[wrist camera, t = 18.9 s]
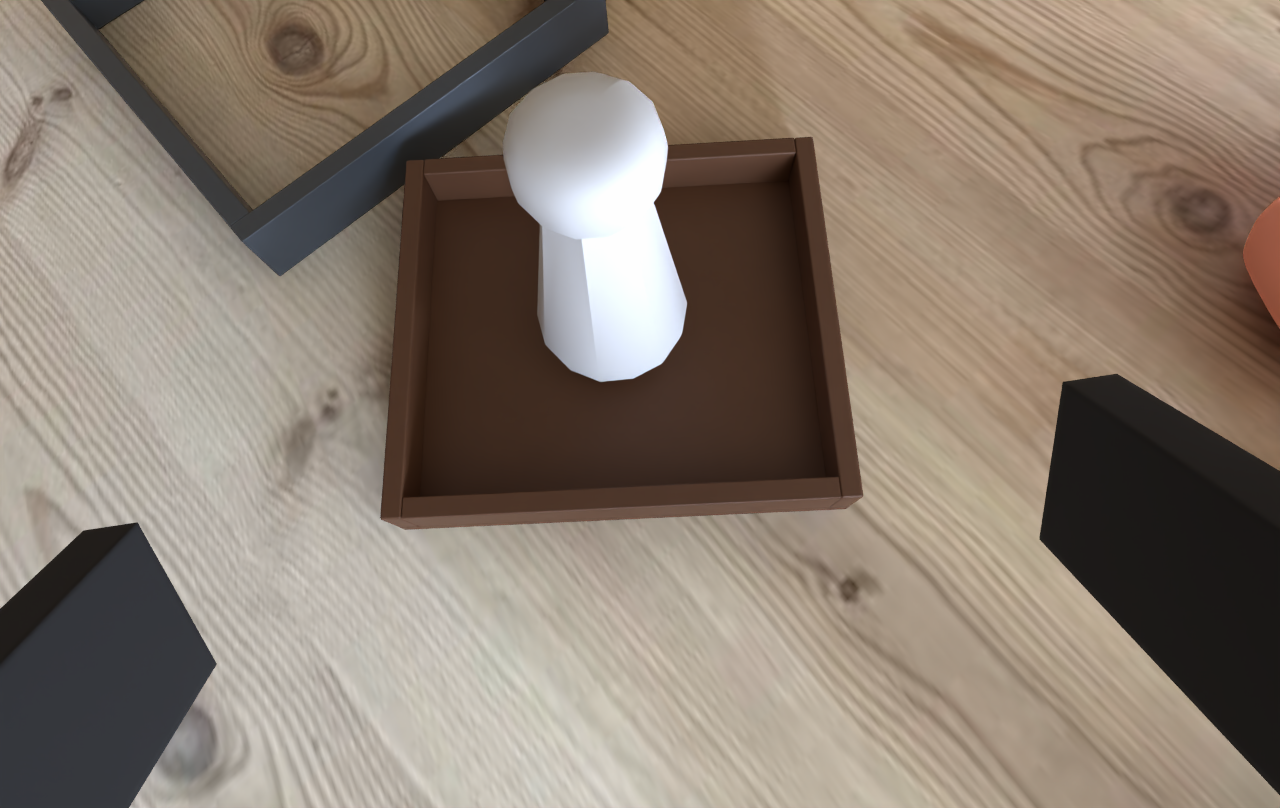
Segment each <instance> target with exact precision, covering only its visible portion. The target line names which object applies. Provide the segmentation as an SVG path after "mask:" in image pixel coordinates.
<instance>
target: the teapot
mask: <svg viewBox="0 0 1280 808" xmlns="http://www.w3.org/2000/svg"><path fill="white" fill-rule="evenodd" d="M1243 258H1244V262H1245V266H1246V269H1247V271H1248V273H1249V275H1250V277H1251V279H1252V281H1253V284H1254V286H1255V287H1256V289H1257V291H1258V293H1259V295H1260V296H1261V298H1262V300H1263V302H1264V303H1265V305H1266V307H1267V309H1268V311H1269V312H1270V314H1271V316H1272V317H1273V319H1274V321H1275V322H1276V324H1277V326H1278V327H1279V329H1280V197H1279V198H1277V199H1276V200H1274V201H1273V202H1272V203H1271V204H1270V205H1269V206H1268V207H1267V208H1266V209H1265V210H1264V212H1263V213H1262V214H1261V215H1260V216H1259V217H1258V218H1257V220H1256V222H1255V223H1254V225H1253V227H1252V229H1251V231H1250V233H1249V236H1248V238H1247V240H1246V243H1245V246H1244V250H1243Z"/></svg>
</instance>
